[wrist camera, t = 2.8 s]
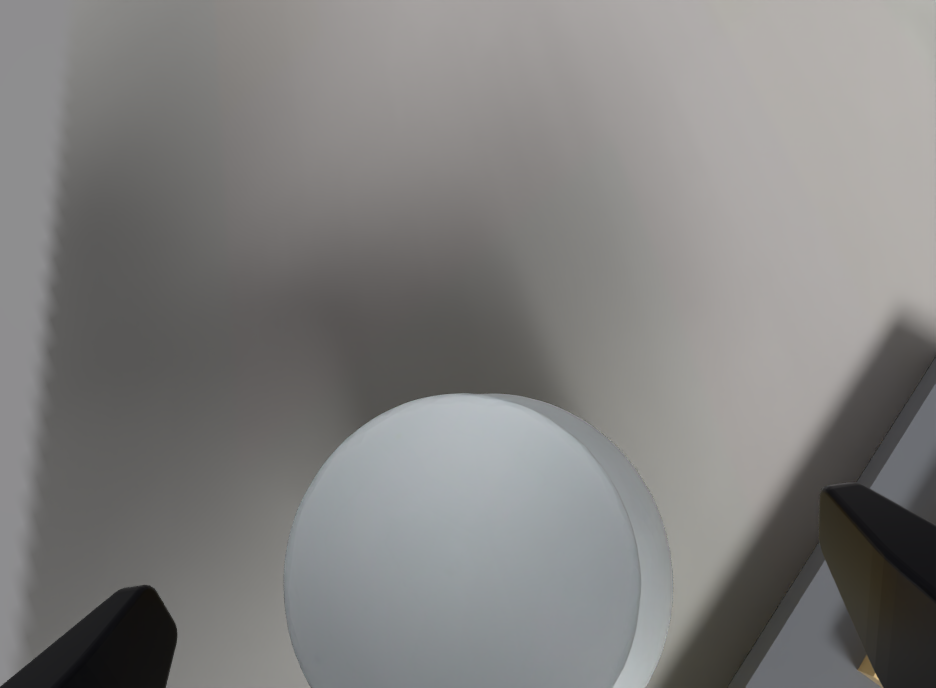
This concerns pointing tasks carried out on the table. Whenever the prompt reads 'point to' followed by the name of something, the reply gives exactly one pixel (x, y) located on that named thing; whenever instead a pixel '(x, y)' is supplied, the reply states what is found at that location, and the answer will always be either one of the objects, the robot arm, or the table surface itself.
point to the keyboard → (814, 590)
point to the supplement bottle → (478, 554)
